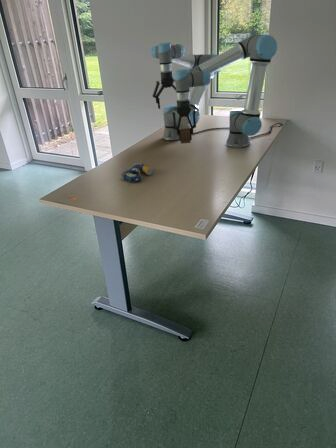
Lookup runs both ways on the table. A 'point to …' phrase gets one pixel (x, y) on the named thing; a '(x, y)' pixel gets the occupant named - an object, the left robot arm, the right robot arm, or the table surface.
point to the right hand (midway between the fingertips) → (185, 139)
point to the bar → (185, 130)
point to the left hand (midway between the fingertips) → (169, 107)
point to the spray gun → (136, 172)
